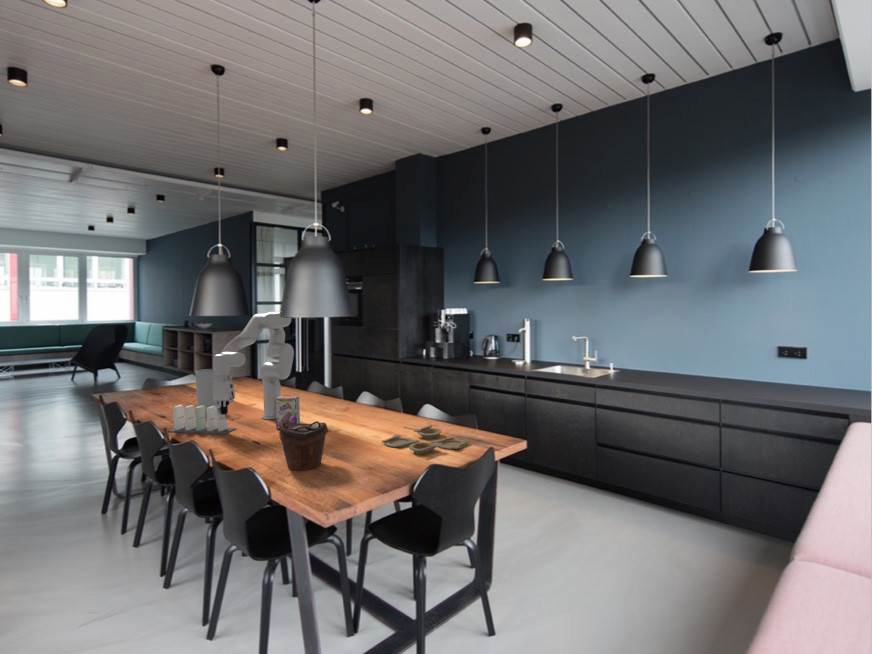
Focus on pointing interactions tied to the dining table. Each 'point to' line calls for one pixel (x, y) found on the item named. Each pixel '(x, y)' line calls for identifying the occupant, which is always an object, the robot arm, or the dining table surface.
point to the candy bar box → (287, 410)
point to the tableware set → (425, 446)
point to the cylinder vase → (205, 388)
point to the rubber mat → (203, 431)
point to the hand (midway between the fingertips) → (224, 413)
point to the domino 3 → (200, 418)
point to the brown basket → (303, 444)
